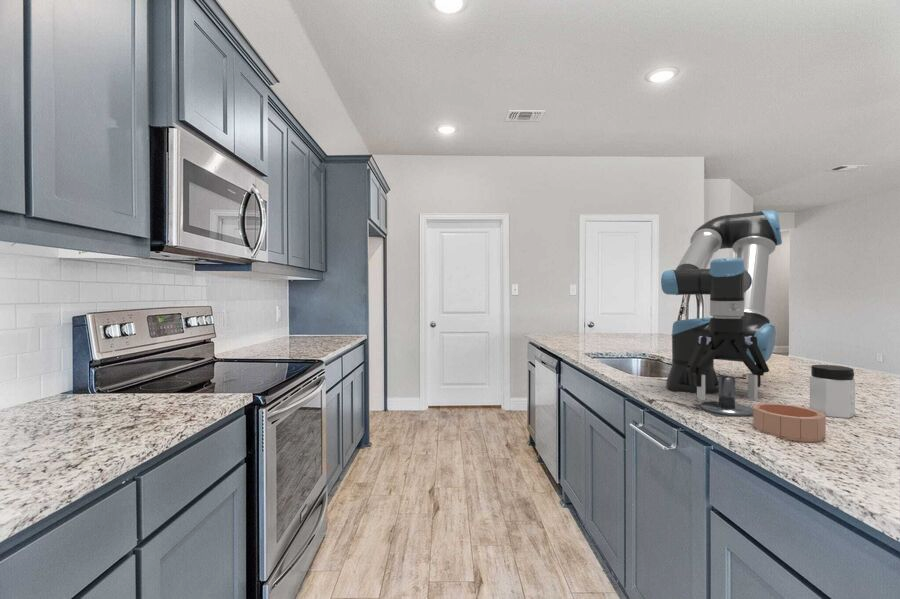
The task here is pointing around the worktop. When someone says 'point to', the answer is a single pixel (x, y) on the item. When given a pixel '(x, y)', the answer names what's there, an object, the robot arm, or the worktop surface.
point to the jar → (832, 390)
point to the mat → (718, 414)
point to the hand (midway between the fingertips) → (726, 399)
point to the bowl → (790, 422)
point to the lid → (727, 400)
